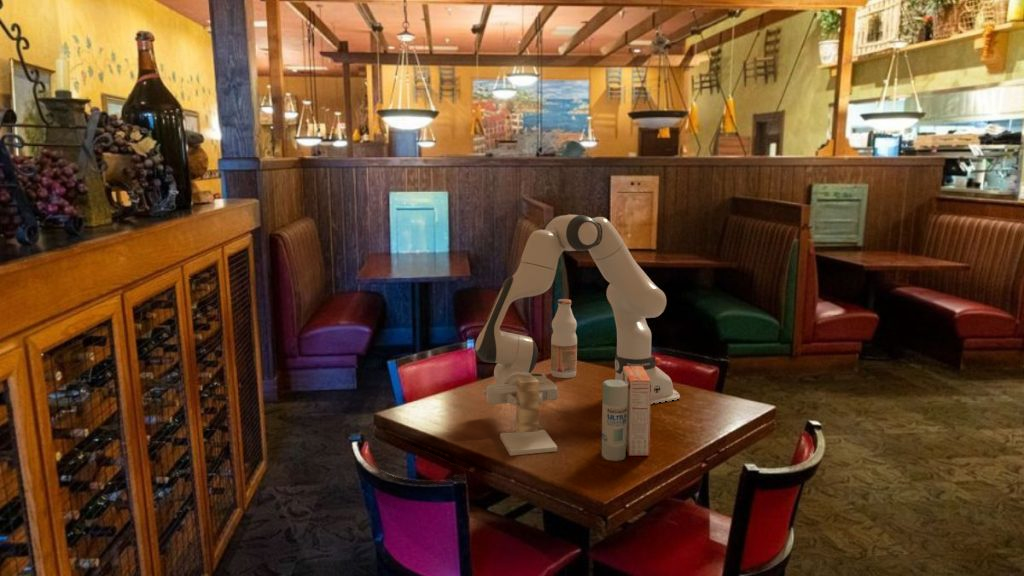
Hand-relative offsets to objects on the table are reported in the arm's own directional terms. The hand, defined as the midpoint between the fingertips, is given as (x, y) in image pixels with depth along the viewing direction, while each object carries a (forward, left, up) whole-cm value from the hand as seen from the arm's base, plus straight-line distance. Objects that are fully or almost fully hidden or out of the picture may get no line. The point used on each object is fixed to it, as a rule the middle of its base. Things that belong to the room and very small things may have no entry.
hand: (528, 401), depth 191 cm
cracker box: (-28, +7, -13) cm, 32 cm away
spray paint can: (-20, +12, -13) cm, 27 cm away
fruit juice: (-29, -62, -13) cm, 70 cm away
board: (0, -1, -12) cm, 12 cm away
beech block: (0, -1, -8) cm, 8 cm away
